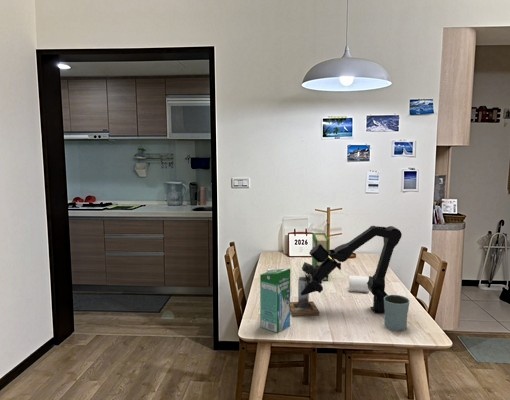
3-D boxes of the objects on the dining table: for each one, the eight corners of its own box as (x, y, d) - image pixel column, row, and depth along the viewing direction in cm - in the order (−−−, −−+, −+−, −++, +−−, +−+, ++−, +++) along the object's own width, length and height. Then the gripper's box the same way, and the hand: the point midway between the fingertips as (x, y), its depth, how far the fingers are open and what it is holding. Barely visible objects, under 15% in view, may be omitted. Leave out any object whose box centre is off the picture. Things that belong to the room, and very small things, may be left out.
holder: (319, 315, 179) (319, 311, 178) (292, 316, 178) (292, 312, 177) (313, 305, 191) (313, 301, 190) (288, 306, 190) (288, 302, 189)
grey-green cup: (402, 321, 172) (403, 294, 171) (412, 331, 162) (413, 303, 161) (379, 321, 172) (380, 294, 171) (387, 332, 162) (388, 303, 161)
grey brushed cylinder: (310, 307, 183) (311, 278, 181) (302, 309, 181) (302, 280, 179) (304, 303, 187) (304, 275, 185) (296, 305, 185) (296, 277, 183)
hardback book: (328, 281, 225) (328, 239, 222) (314, 281, 226) (315, 239, 223) (324, 271, 243) (324, 233, 240) (311, 271, 243) (312, 233, 240)
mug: (369, 294, 205) (369, 279, 204) (349, 293, 207) (349, 278, 206) (368, 286, 216) (368, 272, 215) (349, 285, 219) (349, 271, 218)
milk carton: (273, 320, 174) (273, 264, 171) (290, 325, 169) (290, 268, 166) (260, 327, 167) (260, 269, 164) (277, 333, 162) (277, 273, 159)
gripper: (309, 251, 190) (286, 274, 192) (315, 262, 172) (289, 287, 173) (326, 267, 191) (302, 290, 193) (333, 280, 173) (307, 305, 174)
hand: (300, 292), depth 183 cm, fingers closed on grey brushed cylinder, 5 cm apart
